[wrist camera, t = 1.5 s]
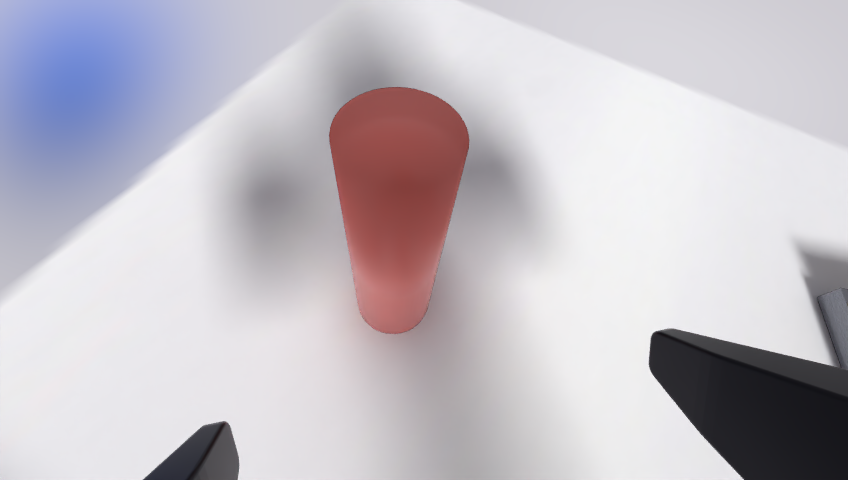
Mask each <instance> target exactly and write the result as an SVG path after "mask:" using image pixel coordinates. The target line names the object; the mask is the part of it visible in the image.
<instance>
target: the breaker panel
mask: <svg viewBox="0 0 848 480" xmlns="http://www.w3.org/2000/svg"><path fill="white" fill-rule="evenodd" d="M817 299H818V302H819V305H820V307H821V310H822V313H823V316H824V319H825V322H826V325H827V328H828V330H829V333H830V336H831V339H832V342H833V345H834V348H835V350H836V353H837V356H838V359H839V362H840V365H841V368H842V369H847V370H848V289H843V288H839V289H837V290H834V291H832V292H829V293H827V294H824V295H821V296H819V297H817Z"/></svg>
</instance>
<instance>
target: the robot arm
mask: <svg viewBox="0 0 848 480" xmlns="http://www.w3.org/2000/svg"><path fill="white" fill-rule="evenodd" d="M649 368H650V370H651V372H652V374H653V376H654V377H655V378H656V379H657V381H658V382H659V383H660V384H661V386H662V387H663V388H664V389H665V391H666V392H667V393H668V394H669V396H670V397H671V398H672V399H673V400H674V402H675V403H676V404H677V405H678V407H679V408H680V409H681V410H682V412H683V413H684V414H685V415H686V417H687V418H688V419H689V420H690V422H691V423H692V424H693V425H694V426H695V428H696V429H697V430H698V431H699V432H700V434H701V435H702V436H703V437H704V438H705V439H706V440H707V441H708V442H709V443H710V444H711V446H712V447H713V448H714V449H715V450H716V451H717V452H718V453H719V454H720V455H721V456H722V457H723V458H724V459H725V460H726V461H727V462H728V463H729V464H730V465H731V467H732V468H733V469H734V470H735V471H736V472H737V473H738V474H739V475H740V476H741V477H742V478H743V479H744V480H848V370H847V369H842V368H838V367H834V366H830V365H825V364H821V363H817V362H813V361H808V360H804V359H800V358H796V357H792V356H787V355H783V354H779V353H775V352H770V351H766V350H762V349H758V348H753V347H749V346H745V345H741V344H736V343H732V342H728V341H724V340H719V339H715V338H711V337H707V336H703V335H698V334H694V333H690V332H686V331H681V330H677V329H664V330H659V331H656V332H654V333H653V334H652V336H651V342H650V354H649ZM238 473H239V457H238V453H237V449H236V445H235V442H234V438H233V435H232V431H231V428H230V425H229V424H228V423H227V422H225V421H222V422H218V423H213V424H208V425H204V426H202V427H201V428H200V429H199V430H198V431H196V432H195V433H194V434H193V435H192V436H191V437H190V438H189V439H188V440H186V441H185V442H184V443H183V444H182V445H181V446H180V447H179V448H178V449H176V450H175V451H174V452H173V453H172V454H171V455H170V456H169V457H168V458H167V459H165V460H164V461H163V462H162V463H161V464H160V465H159V466H158V467H157V468H155V469H154V470H153V471H152V472H151V473H150V474H149V475H148V476H147V477H145V478H144V479H143V480H238Z"/></svg>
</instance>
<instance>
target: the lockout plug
mask: <svg viewBox="0 0 848 480" xmlns="http://www.w3.org/2000/svg"><path fill="white" fill-rule="evenodd" d="M329 139H330V147H331V152H332V158H333V164H334V170H335V175H336V181H337V187H338V192H339V198H340V204H341V210H342V215H343V221H344V227H345V232H346V238H347V244H348V250H349V255H350V261H351V267H352V272H353V278H354V284H355V289H356V295H357V301H358V306H359V310H360V313H361V315H362V317H363V319H364V320H365V321H366V322H367V323H368V324H369V325H370V326H371V327H372V328H374V329H376V330H378V331H380V332H383V333H389V334H397V333H402V332H406V331H408V330H410V329H412V328H414V327H415V326H416V325H417V324H418V323H419V322H420V321H421V320H422V319H423V317H424V315H425V313H426V311H427V307H428V304H429V300H430V296H431V292H432V288H433V284H434V280H435V276H436V273H437V269H438V265H439V261H440V257H441V253H442V249H443V245H444V242H445V238H446V234H447V230H448V226H449V222H450V218H451V214H452V211H453V207H454V203H455V199H456V195H457V191H458V187H459V183H460V180H461V176H462V172H463V168H464V164H465V160H466V156H467V152H468V149H469V135H468V131H467V127H466V125H465V123H464V121H463V120H462V118H461V116H460V115H459V114H458V113H457V112H456V110H455V109H453V108H452V107H451V106H450V105H449V104H448V103H446V102H445V101H443V100H442V99H440V98H438V97H436V96H434V95H432V94H430V93H427V92H424V91H420V90H416V89H411V88H402V87H388V88H380V89H376V90H372V91H369V92H365V93H363V94H361V95H359V96H357V97H355V98H353V99H352V100H350V101H349V102H347V103H346V104H345V105H344V106H343V107H342V108H341V109H340V110H339V111H338V113H337V114H336V115H335V117H334V119H333V121H332V124H331V127H330V133H329Z"/></svg>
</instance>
